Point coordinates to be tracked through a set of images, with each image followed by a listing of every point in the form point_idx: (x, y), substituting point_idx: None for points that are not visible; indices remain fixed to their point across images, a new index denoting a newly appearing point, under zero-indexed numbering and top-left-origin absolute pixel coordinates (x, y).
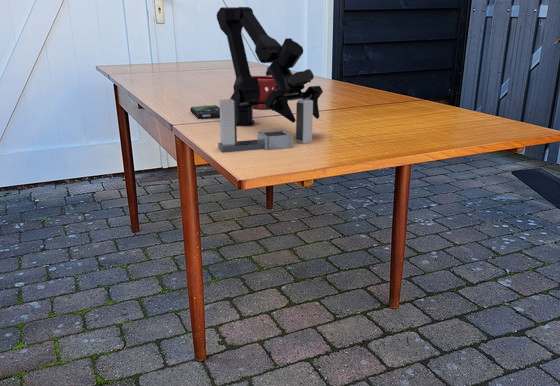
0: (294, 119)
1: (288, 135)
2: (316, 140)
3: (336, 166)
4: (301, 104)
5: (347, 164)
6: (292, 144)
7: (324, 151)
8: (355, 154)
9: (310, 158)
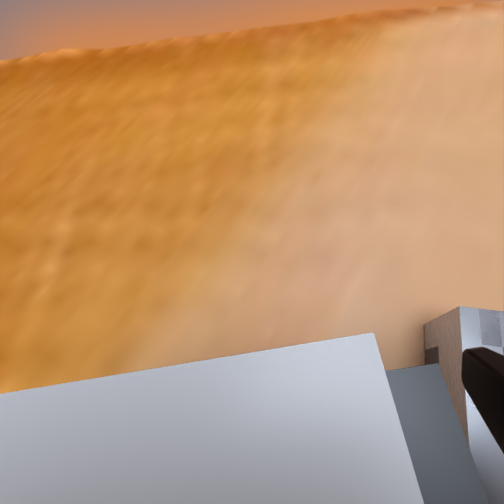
0: (489, 353)
1: (499, 325)
2: None
3: (356, 20)
4: (431, 382)
5: (306, 28)
6: (433, 321)
7: (287, 187)
8: (197, 111)
9: (409, 116)
